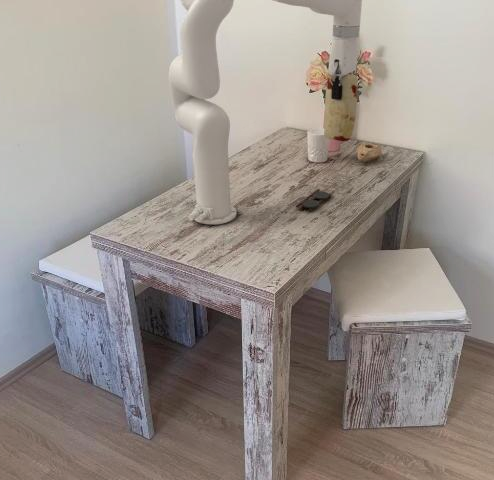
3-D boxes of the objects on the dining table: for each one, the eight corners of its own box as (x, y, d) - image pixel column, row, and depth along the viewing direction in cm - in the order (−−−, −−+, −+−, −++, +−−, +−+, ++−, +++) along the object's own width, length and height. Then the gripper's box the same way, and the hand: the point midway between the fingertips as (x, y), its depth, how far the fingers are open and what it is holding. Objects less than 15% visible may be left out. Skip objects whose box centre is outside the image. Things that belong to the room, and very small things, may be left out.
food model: (320, 140, 178) (323, 73, 168) (326, 134, 183) (330, 68, 173) (351, 144, 175) (356, 76, 164) (356, 138, 180) (362, 71, 170)
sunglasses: (312, 213, 165) (312, 209, 164) (295, 209, 167) (295, 205, 167) (333, 196, 175) (333, 192, 174) (317, 192, 178) (317, 188, 177)
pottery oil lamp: (348, 164, 197) (346, 143, 197) (364, 165, 207) (362, 145, 206) (371, 159, 192) (369, 138, 191) (386, 161, 202) (384, 140, 201)
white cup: (327, 164, 198) (328, 135, 193) (305, 162, 200) (305, 134, 194) (330, 156, 205) (331, 128, 200) (308, 154, 206) (309, 127, 201)
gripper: (346, 27, 171) (342, 89, 180) (320, 35, 158) (317, 101, 168) (370, 29, 168) (364, 92, 177) (345, 37, 155) (340, 104, 164)
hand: (341, 96), depth 172 cm, fingers closed on food model, 6 cm apart
